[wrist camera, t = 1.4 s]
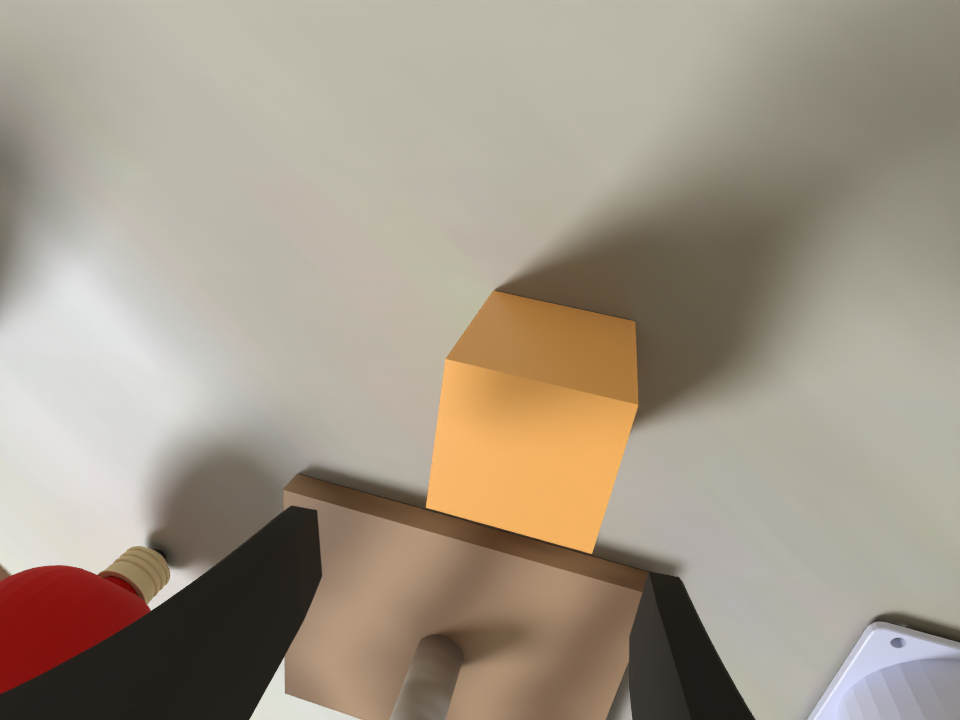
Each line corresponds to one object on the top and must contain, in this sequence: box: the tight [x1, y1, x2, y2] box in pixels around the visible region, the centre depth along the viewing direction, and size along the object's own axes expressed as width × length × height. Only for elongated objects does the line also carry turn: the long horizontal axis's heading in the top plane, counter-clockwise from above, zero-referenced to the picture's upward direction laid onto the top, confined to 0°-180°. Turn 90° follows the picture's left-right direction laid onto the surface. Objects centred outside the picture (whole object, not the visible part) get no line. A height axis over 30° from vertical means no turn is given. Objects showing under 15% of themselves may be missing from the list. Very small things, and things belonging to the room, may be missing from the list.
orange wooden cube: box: [426, 291, 639, 554], centre depth 18 cm, size 5×5×6 cm
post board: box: [283, 474, 648, 720], centre depth 25 cm, size 16×14×6 cm
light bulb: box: [0, 546, 170, 694], centre depth 26 cm, size 9×7×10 cm
